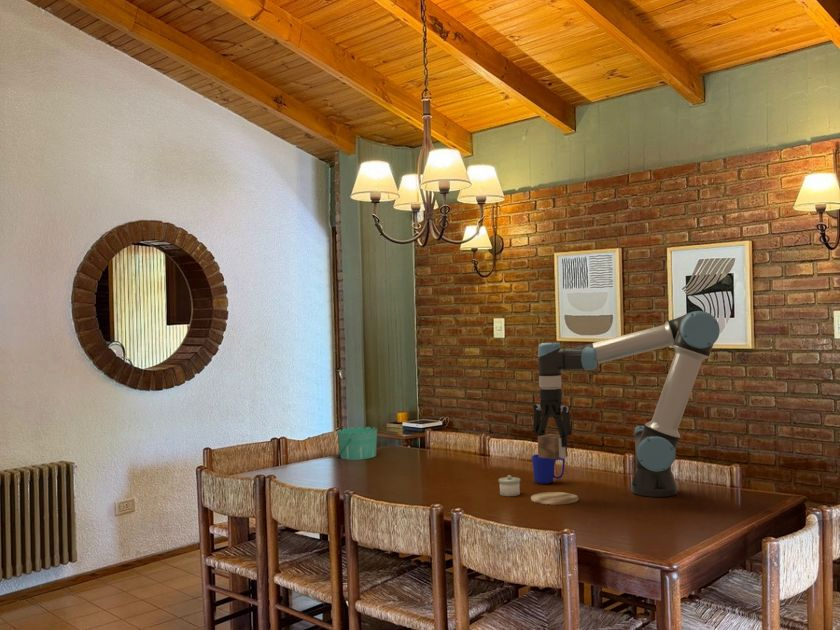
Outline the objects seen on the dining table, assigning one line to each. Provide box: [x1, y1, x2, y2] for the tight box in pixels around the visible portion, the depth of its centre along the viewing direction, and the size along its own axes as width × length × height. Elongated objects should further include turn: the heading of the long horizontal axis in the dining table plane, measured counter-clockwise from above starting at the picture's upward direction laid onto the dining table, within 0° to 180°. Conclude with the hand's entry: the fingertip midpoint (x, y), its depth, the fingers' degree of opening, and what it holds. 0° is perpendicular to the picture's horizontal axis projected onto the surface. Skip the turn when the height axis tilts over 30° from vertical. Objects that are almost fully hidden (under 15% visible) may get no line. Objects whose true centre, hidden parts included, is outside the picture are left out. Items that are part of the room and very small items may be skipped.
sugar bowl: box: [498, 474, 521, 497], centre depth 263 cm, size 8×8×7 cm
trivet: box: [530, 491, 580, 506], centre depth 253 cm, size 16×16×1 cm
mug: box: [531, 454, 566, 485], centre depth 279 cm, size 8×12×10 cm
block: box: [537, 433, 568, 459], centre depth 253 cm, size 7×7×7 cm
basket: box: [336, 426, 378, 461], centre depth 350 cm, size 19×18×13 cm
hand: (552, 455), depth 253 cm, fingers closed on block, 7 cm apart
